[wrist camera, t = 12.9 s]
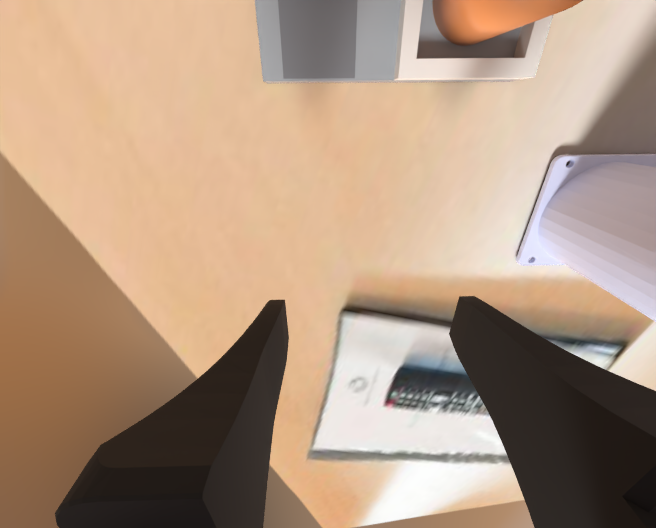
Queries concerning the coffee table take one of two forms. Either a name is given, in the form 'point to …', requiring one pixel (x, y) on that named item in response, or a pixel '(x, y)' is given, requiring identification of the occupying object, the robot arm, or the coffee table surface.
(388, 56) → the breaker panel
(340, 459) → the coffee table surface
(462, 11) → the orange bottle
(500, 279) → the coffee table surface
